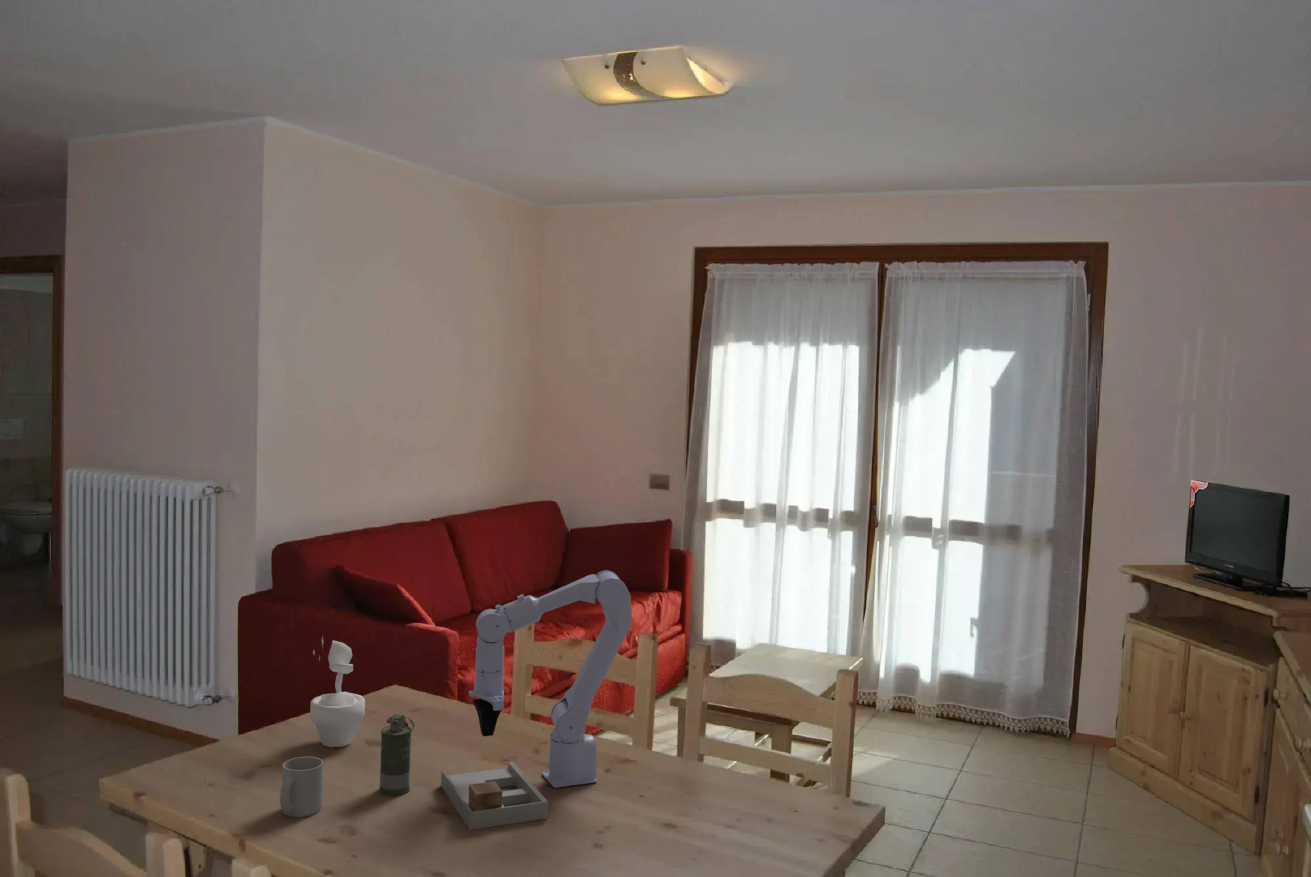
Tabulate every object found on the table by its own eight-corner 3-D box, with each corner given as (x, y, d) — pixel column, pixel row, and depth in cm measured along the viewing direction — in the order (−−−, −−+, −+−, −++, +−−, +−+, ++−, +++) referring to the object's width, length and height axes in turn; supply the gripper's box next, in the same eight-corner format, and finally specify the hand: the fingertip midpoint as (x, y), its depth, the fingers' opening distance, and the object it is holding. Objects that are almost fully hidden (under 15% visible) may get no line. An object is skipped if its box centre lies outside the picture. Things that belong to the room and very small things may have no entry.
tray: (512, 776, 213) (512, 761, 213) (547, 818, 193) (548, 801, 193) (441, 786, 207) (441, 770, 206) (469, 830, 187) (470, 812, 187)
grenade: (402, 797, 200) (404, 722, 199) (373, 794, 201) (375, 719, 200) (415, 785, 206) (418, 712, 205) (388, 782, 207) (390, 709, 207)
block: (494, 802, 195) (494, 781, 195) (501, 812, 190) (502, 791, 190) (468, 805, 193) (469, 784, 193) (475, 815, 188) (476, 794, 188)
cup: (329, 805, 195) (330, 759, 194) (298, 826, 185) (300, 778, 185) (296, 800, 197) (297, 754, 196) (264, 820, 187) (265, 772, 187)
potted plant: (309, 736, 232) (312, 627, 231) (362, 733, 235) (366, 625, 234) (308, 756, 220) (311, 641, 219) (364, 752, 223) (368, 639, 222)
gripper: (460, 661, 213) (458, 725, 214) (480, 680, 200) (478, 749, 201) (493, 659, 216) (491, 722, 217) (514, 677, 203) (512, 744, 204)
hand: (487, 735), depth 209 cm, fingers closed
